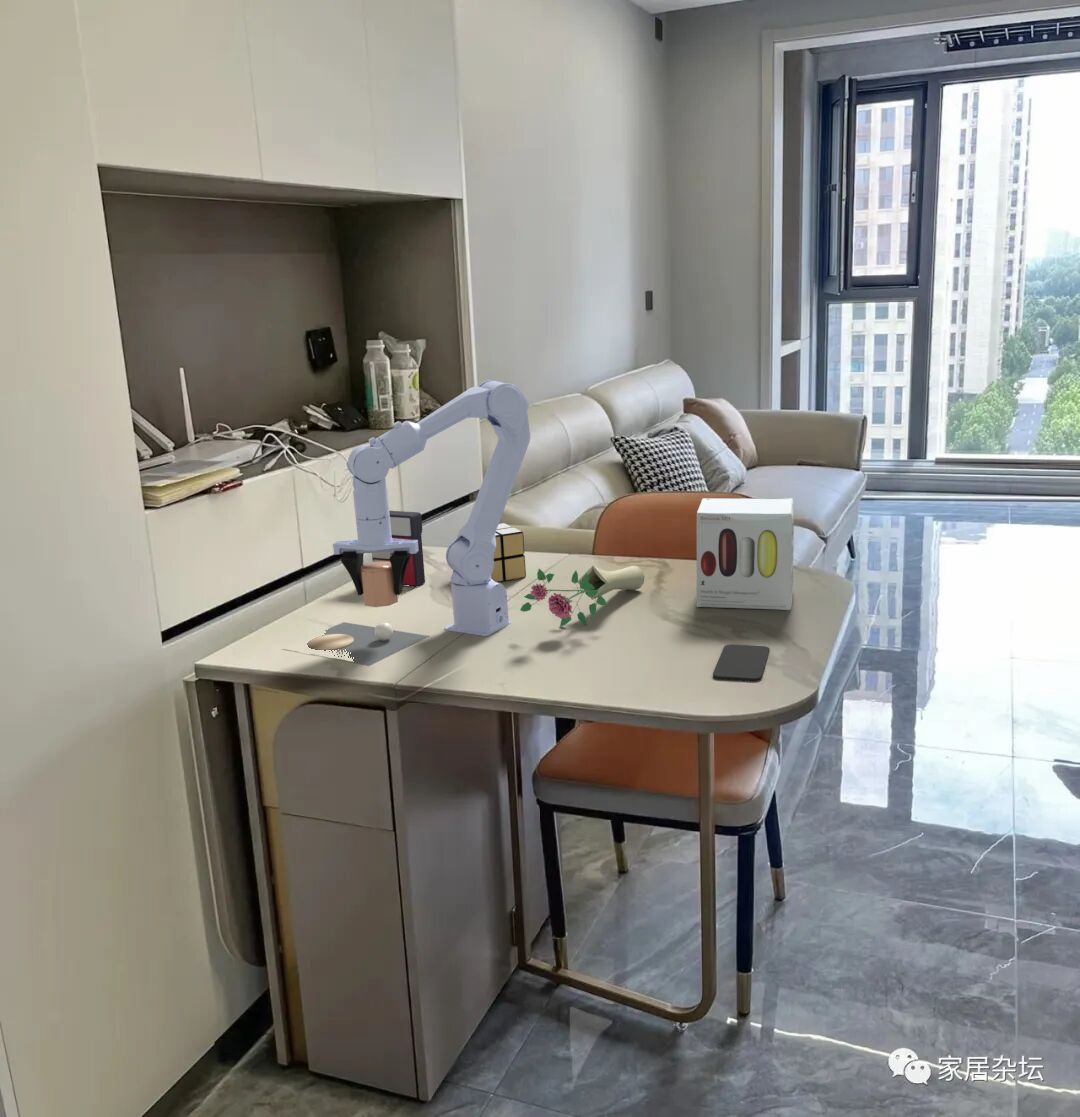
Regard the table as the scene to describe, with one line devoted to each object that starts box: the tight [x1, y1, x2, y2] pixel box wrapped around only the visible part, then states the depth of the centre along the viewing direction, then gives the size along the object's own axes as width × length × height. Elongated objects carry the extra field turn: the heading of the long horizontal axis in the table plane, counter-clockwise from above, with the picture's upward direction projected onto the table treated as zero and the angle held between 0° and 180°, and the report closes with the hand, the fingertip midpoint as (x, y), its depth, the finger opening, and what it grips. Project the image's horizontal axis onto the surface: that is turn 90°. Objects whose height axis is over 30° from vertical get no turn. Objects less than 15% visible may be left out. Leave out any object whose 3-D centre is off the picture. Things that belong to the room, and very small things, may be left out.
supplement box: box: [696, 497, 795, 611], centre depth 198 cm, size 17×13×18 cm
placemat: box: [322, 621, 430, 667], centre depth 187 cm, size 20×16×1 cm
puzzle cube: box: [491, 522, 527, 583], centre depth 224 cm, size 10×10×10 cm
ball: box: [374, 622, 394, 641], centre depth 187 cm, size 3×3×3 cm
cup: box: [361, 561, 399, 608], centre depth 185 cm, size 6×6×6 cm
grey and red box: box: [371, 510, 426, 588], centre depth 222 cm, size 11×4×15 cm, turn 62°
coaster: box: [307, 634, 354, 651], centre depth 188 cm, size 8×8×1 cm
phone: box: [712, 643, 771, 683], centre depth 168 cm, size 7×1×15 cm
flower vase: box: [519, 565, 646, 627], centre depth 195 cm, size 12×12×35 cm
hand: (380, 593), depth 185 cm, fingers closed on cup, 6 cm apart
